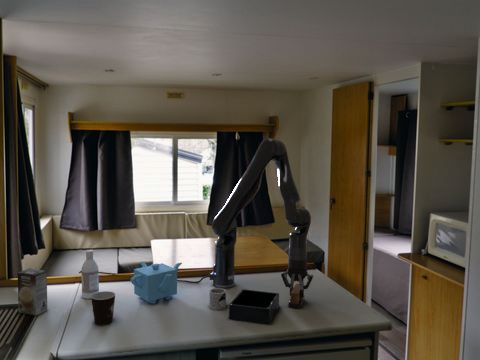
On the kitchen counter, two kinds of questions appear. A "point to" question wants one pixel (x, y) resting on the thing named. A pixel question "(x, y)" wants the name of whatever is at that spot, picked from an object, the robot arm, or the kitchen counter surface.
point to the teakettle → (155, 281)
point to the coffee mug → (103, 307)
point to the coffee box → (32, 291)
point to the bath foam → (89, 276)
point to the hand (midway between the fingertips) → (296, 297)
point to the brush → (296, 297)
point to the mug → (217, 298)
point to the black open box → (254, 306)
